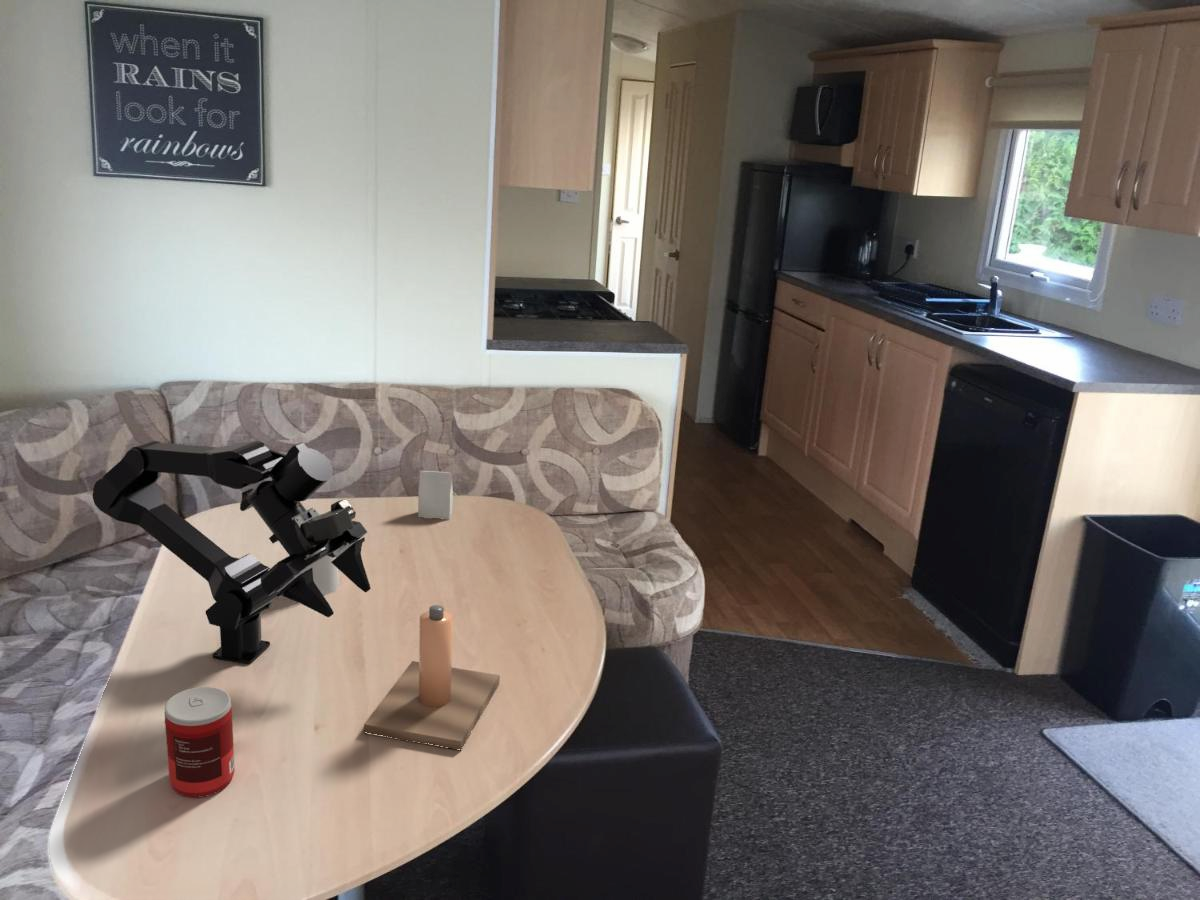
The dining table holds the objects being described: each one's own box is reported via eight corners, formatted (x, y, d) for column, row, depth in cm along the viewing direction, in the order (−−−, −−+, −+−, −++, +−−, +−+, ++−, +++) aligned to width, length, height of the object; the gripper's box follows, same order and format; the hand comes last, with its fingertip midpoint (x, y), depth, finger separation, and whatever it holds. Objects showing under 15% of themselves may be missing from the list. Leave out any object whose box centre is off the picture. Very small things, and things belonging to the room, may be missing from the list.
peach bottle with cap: (434, 710, 141) (436, 619, 137) (411, 698, 143) (412, 608, 139) (457, 697, 144) (459, 608, 140) (434, 686, 147) (436, 598, 143)
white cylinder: (345, 579, 183) (344, 518, 179) (329, 598, 175) (328, 535, 171) (302, 574, 183) (300, 513, 180) (284, 593, 176) (282, 530, 172)
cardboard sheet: (461, 750, 135) (461, 741, 134) (363, 733, 137) (363, 724, 137) (499, 683, 152) (499, 675, 151) (412, 669, 154) (412, 660, 153)
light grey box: (449, 519, 214) (450, 475, 211) (418, 517, 214) (418, 473, 211) (452, 513, 217) (453, 470, 214) (421, 511, 217) (421, 468, 214)
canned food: (213, 753, 131) (209, 679, 127) (247, 779, 126) (244, 703, 123) (157, 778, 125) (151, 702, 122) (190, 807, 120) (185, 728, 117)
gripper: (276, 508, 133) (345, 601, 133) (356, 470, 150) (418, 553, 150) (230, 550, 138) (297, 639, 138) (313, 508, 155) (373, 588, 155)
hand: (350, 602), depth 145 cm, fingers open, 9 cm apart
